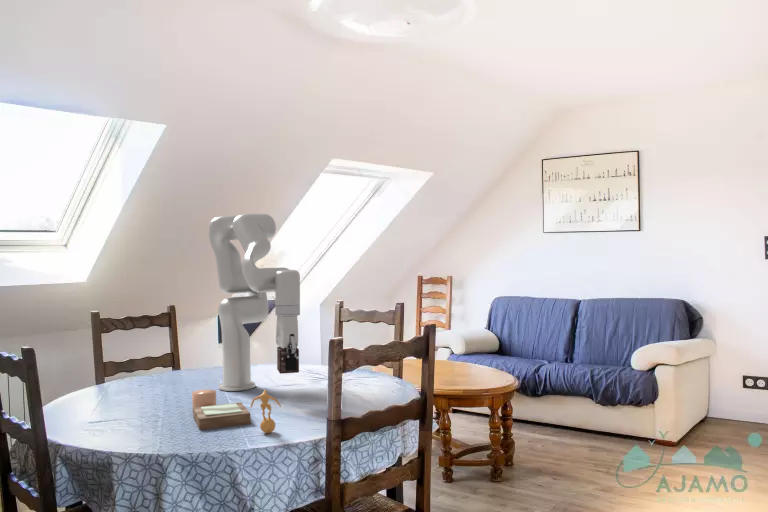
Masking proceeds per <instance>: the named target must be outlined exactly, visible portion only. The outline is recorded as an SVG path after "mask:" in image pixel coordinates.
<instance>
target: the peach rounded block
mask: <svg viewBox="0 0 768 512" xmlns="http://www.w3.org/2000/svg"><path fill="white" fill-rule="evenodd" d="M191 398H192V399H191V400H192V401H191V403H192V409H191V410H192V411H193V408H194V407H203V406H212V405H217V391H216V390H214V389H199V390H194V391H192V393H191Z"/></svg>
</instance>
